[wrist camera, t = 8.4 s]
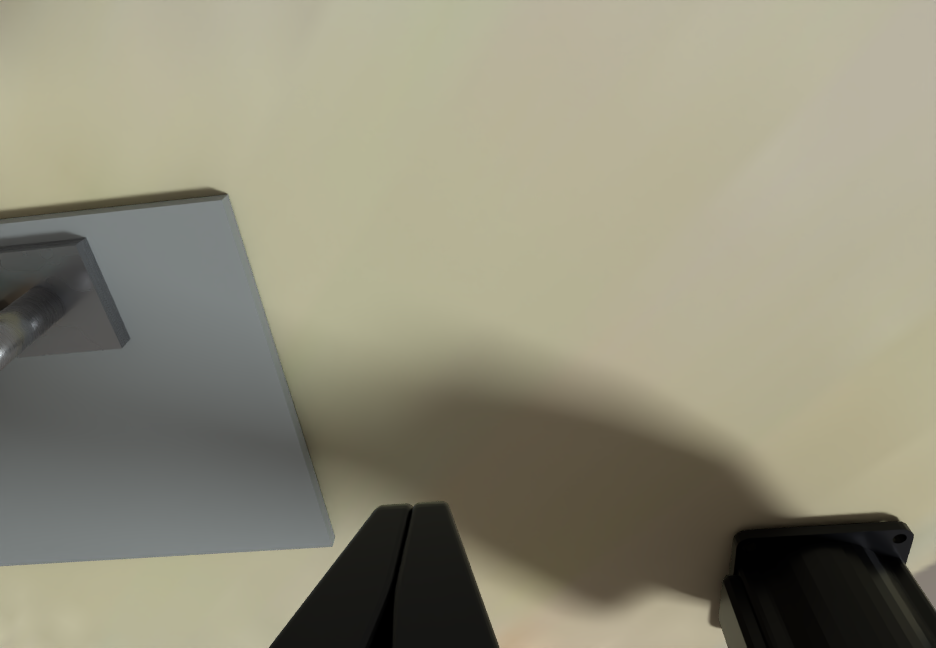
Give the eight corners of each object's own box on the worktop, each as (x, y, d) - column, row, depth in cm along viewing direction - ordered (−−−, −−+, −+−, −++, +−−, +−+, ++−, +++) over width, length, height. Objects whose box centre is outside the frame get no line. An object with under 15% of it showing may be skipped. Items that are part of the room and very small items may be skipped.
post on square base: (86, 237, 20) (5, 295, 17) (130, 338, 22) (65, 409, 18) (-24, 249, 20) (-125, 308, 17) (28, 348, 22) (-54, 419, 19)
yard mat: (227, 194, 20) (221, 199, 19) (334, 536, 27) (332, 546, 26) (-211, 242, 21) (-226, 248, 20) (3, 556, 28) (-5, 566, 28)
